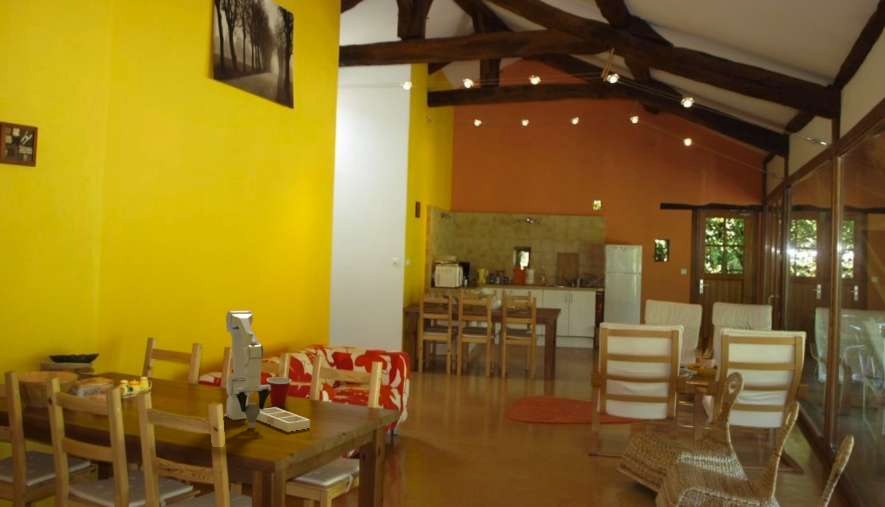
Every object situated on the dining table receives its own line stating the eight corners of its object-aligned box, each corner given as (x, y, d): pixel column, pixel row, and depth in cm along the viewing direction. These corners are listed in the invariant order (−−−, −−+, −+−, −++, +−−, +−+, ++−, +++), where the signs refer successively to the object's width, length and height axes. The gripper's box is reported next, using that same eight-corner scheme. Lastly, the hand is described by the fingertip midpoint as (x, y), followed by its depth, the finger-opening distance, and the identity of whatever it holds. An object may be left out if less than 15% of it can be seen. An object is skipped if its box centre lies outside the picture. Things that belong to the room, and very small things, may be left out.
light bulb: (247, 430, 282) (247, 404, 282) (241, 427, 287) (242, 402, 287) (262, 428, 286) (262, 403, 286) (256, 425, 290) (256, 400, 290)
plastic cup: (276, 409, 319) (277, 382, 319) (260, 405, 326) (261, 379, 325) (295, 405, 328) (296, 379, 328) (279, 402, 334) (280, 376, 334)
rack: (253, 418, 302) (253, 410, 302) (275, 415, 308) (275, 407, 308) (287, 432, 281) (287, 423, 281) (309, 428, 288) (309, 419, 288)
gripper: (240, 378, 278) (239, 414, 278) (274, 375, 288) (274, 409, 288) (232, 376, 284) (231, 411, 284) (266, 372, 293) (265, 406, 293)
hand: (252, 410), depth 286 cm, fingers open, 7 cm apart
